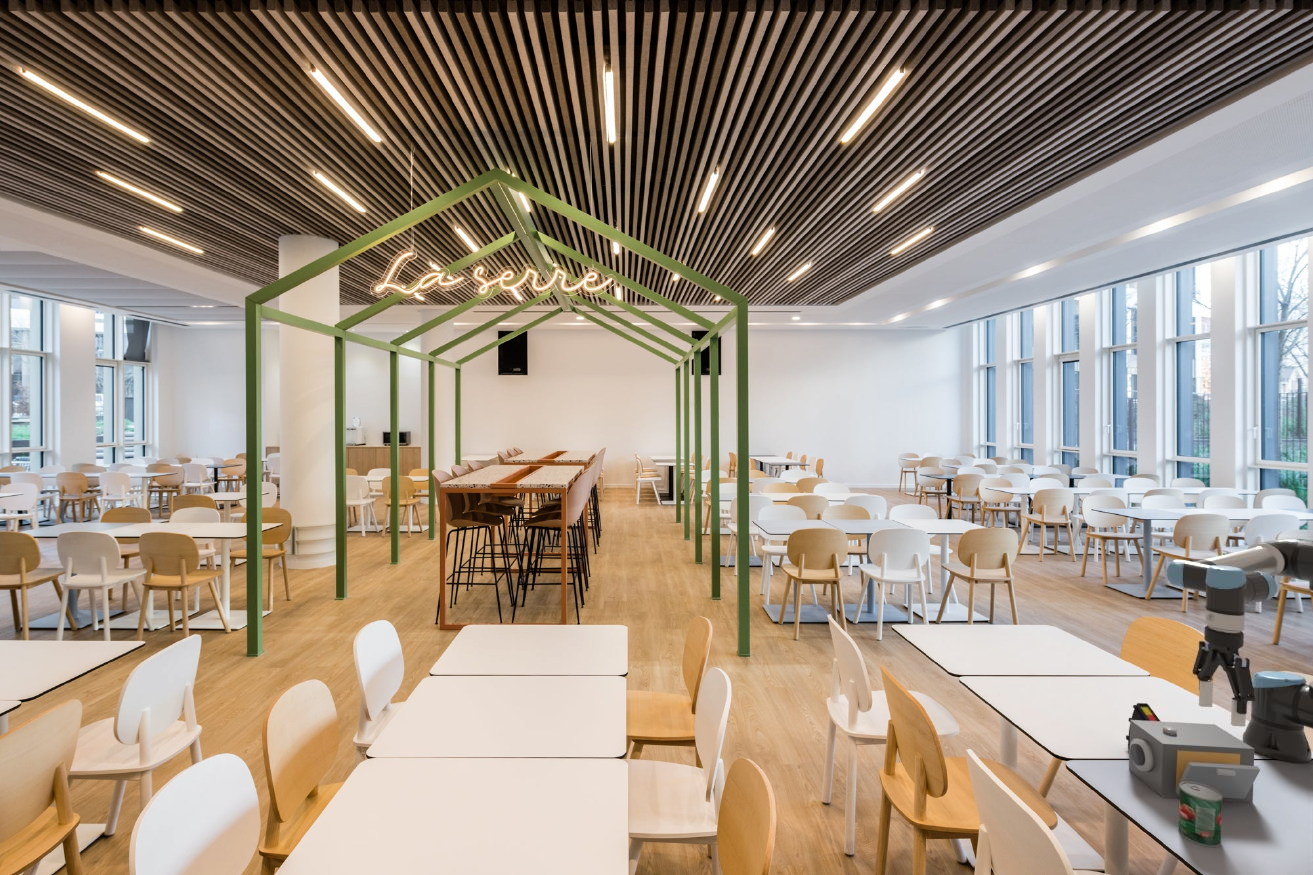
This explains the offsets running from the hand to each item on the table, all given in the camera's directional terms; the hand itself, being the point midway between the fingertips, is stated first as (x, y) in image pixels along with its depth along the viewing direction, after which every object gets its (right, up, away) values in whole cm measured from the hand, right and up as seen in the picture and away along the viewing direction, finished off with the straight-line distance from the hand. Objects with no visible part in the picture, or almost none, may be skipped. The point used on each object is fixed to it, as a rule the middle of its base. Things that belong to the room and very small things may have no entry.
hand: (1221, 715), depth 168 cm
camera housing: (0, -24, +12) cm, 26 cm away
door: (0, -22, +4) cm, 22 cm away
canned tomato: (-14, -24, -11) cm, 30 cm away
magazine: (0, -24, +26) cm, 35 cm away
